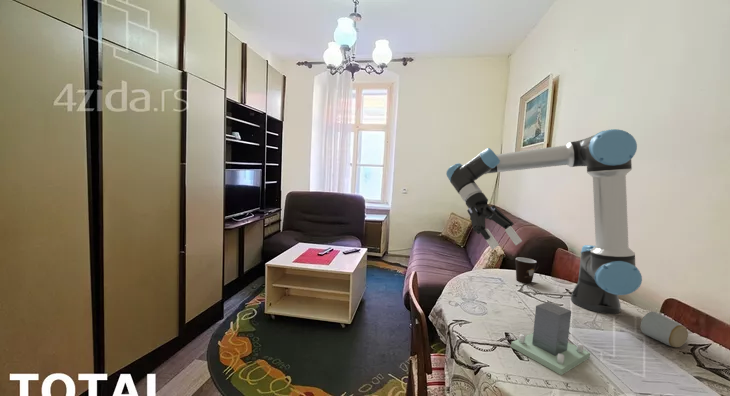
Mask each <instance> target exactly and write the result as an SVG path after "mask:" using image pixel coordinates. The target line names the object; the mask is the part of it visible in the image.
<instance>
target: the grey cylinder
mask: <svg viewBox="0 0 730 396" xmlns="http://www.w3.org/2000/svg"><path fill="white" fill-rule="evenodd" d="M640 331H641V333H642V334H644V335H646V336H647V337H650V338H652V339H654V340H656V341H658V342H660V343H662V344H665V345H666V346H669V347H672V348H680V347H683V346H684V344H686V343H687V341H688V339H689V333H688V330H687V327H686V326H684V325H683V324H681V323H680V322H678V321H675V320H673V319H671V318H668V317H666V316H664V315H662V314H661V313H659V312H656V311H649V312H647V313H646V314H645V315H644V316H643V317H642V319H641V321H640Z"/></svg>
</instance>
